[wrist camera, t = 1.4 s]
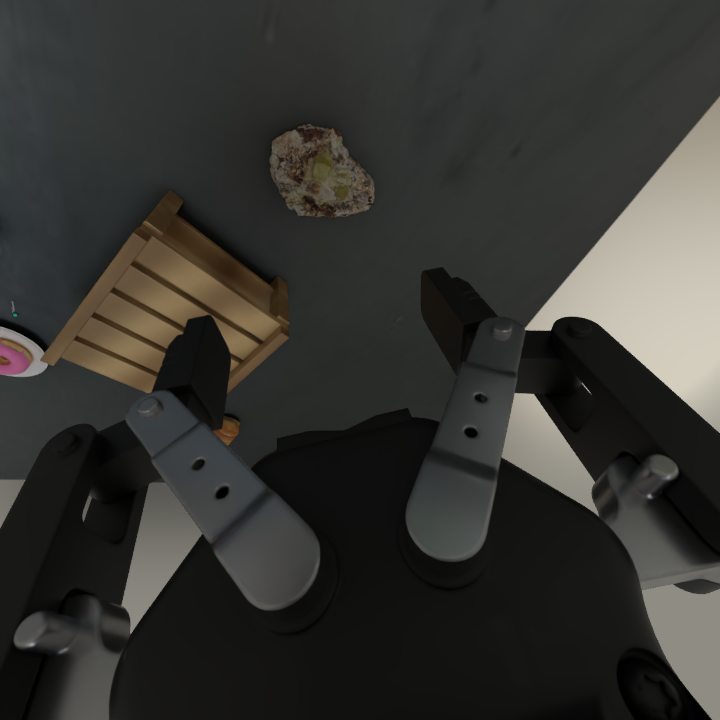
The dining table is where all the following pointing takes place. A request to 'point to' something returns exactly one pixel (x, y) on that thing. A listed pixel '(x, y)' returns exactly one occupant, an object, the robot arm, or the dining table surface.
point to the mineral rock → (319, 173)
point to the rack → (171, 304)
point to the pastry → (228, 430)
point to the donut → (19, 354)
